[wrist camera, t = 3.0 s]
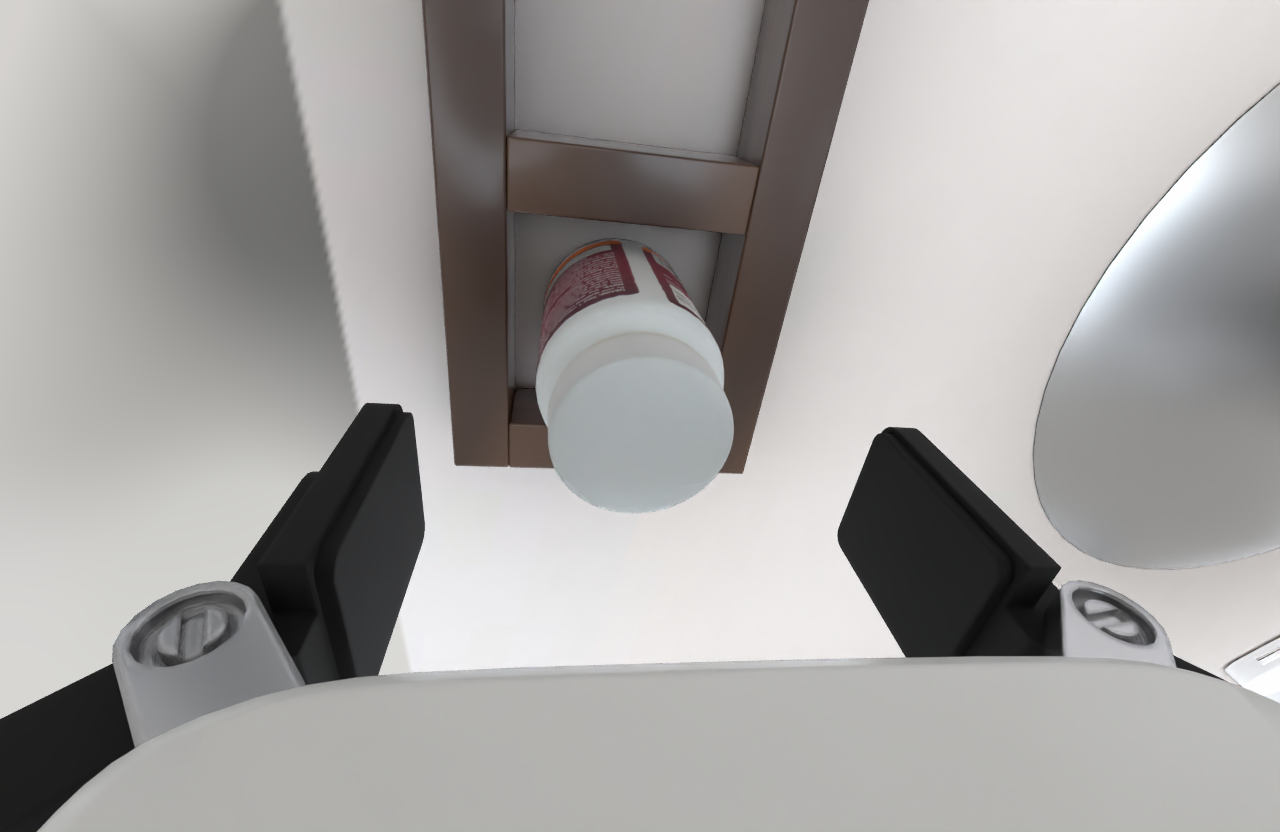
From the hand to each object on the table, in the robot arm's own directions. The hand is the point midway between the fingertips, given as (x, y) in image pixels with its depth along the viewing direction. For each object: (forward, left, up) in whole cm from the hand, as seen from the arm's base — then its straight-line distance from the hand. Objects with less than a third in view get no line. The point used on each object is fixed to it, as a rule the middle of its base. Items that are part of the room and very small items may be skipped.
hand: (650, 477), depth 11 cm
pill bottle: (0, 0, -9) cm, 9 cm away
